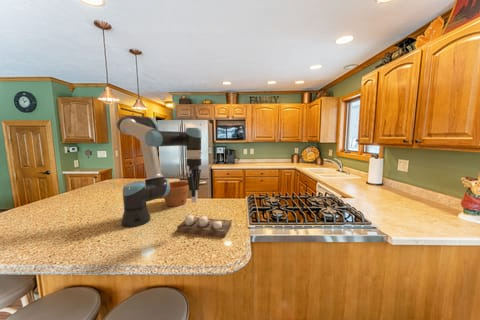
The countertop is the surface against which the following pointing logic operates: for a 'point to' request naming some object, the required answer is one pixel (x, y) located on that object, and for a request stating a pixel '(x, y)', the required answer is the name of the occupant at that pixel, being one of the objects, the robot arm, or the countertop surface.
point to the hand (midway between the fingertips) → (194, 202)
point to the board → (205, 228)
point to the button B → (203, 221)
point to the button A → (189, 220)
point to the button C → (217, 225)
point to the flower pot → (177, 193)
